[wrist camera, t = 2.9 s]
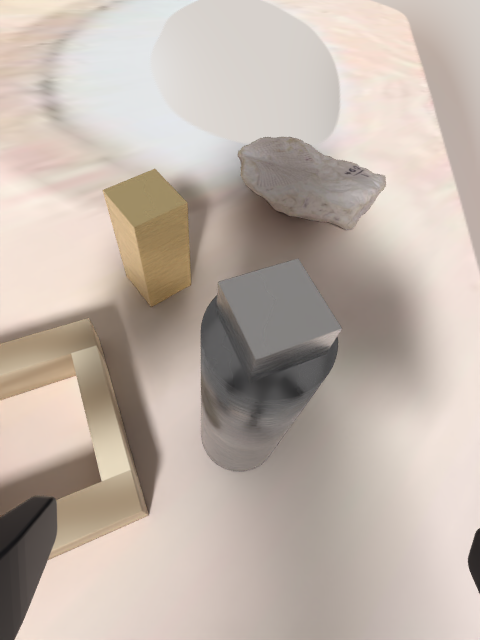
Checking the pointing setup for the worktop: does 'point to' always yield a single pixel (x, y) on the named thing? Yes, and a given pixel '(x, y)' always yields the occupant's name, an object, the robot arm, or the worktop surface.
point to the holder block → (103, 420)
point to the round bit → (261, 361)
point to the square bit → (151, 234)
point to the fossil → (308, 181)
